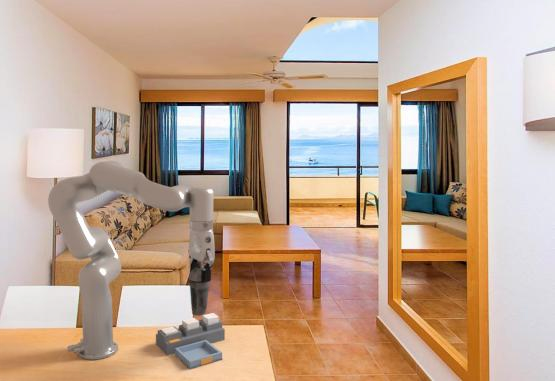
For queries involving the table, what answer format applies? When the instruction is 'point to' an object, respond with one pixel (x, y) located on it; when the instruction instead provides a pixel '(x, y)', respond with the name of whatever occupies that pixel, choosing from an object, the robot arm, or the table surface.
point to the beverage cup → (198, 292)
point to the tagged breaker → (169, 331)
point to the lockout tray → (198, 354)
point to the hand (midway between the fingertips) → (200, 278)
